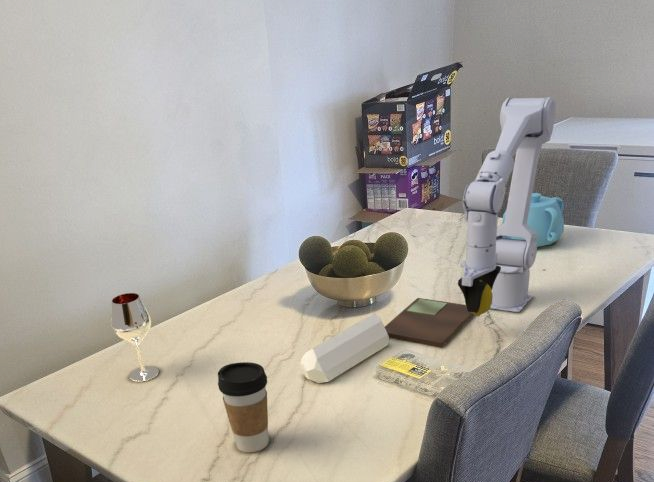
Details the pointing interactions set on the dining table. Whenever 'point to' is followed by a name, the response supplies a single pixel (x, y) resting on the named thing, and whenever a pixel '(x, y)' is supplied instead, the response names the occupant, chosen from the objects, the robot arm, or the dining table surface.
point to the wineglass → (132, 328)
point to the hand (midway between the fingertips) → (478, 305)
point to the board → (428, 322)
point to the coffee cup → (246, 404)
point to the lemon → (485, 301)
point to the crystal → (345, 350)
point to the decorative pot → (544, 219)
